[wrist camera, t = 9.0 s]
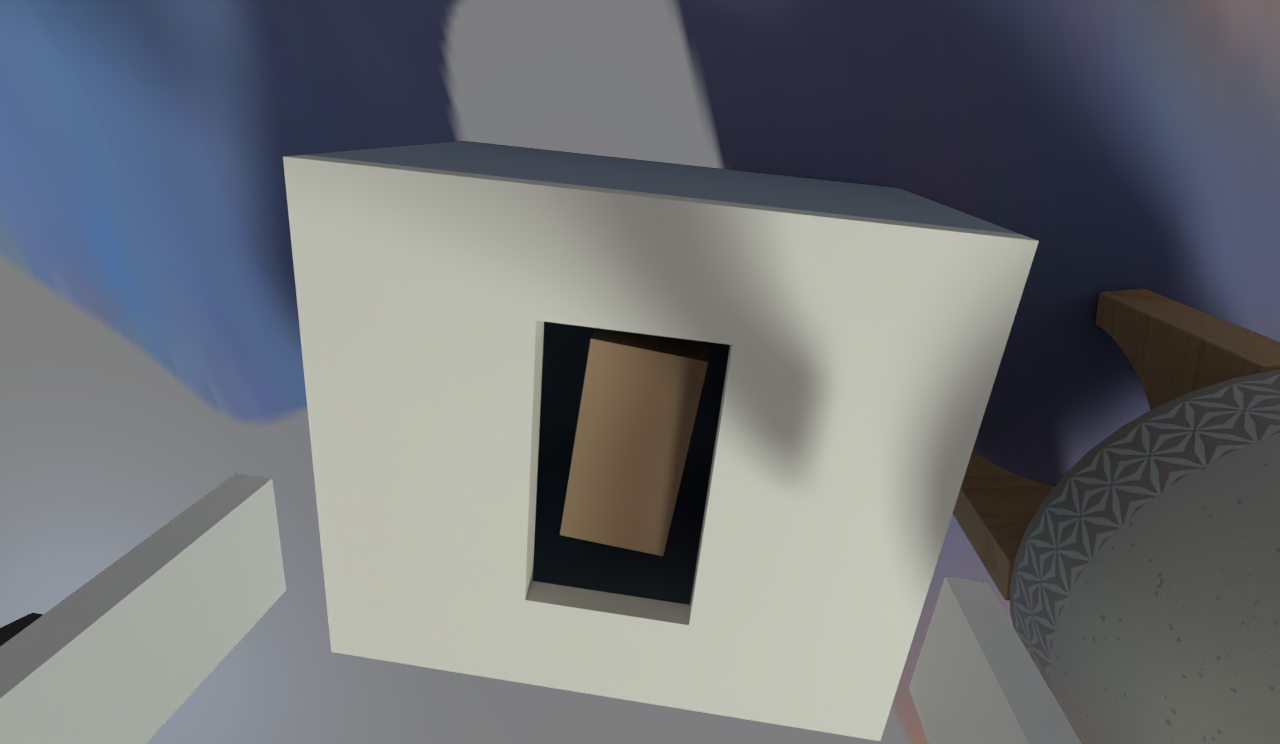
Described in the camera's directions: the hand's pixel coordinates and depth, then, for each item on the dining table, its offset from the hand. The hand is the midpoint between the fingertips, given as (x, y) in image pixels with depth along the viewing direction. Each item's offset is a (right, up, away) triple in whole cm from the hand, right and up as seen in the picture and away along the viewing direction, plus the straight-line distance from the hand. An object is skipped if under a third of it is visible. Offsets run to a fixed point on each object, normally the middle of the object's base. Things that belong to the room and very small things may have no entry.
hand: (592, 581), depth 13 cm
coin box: (+2, +5, +14) cm, 15 cm away
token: (+1, +5, +13) cm, 14 cm away
